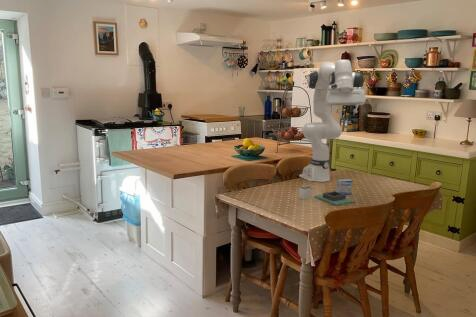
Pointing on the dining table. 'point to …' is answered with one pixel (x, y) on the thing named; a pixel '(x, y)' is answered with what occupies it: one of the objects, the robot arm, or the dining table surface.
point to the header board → (334, 198)
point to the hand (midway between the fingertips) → (346, 112)
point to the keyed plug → (305, 192)
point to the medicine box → (344, 186)
